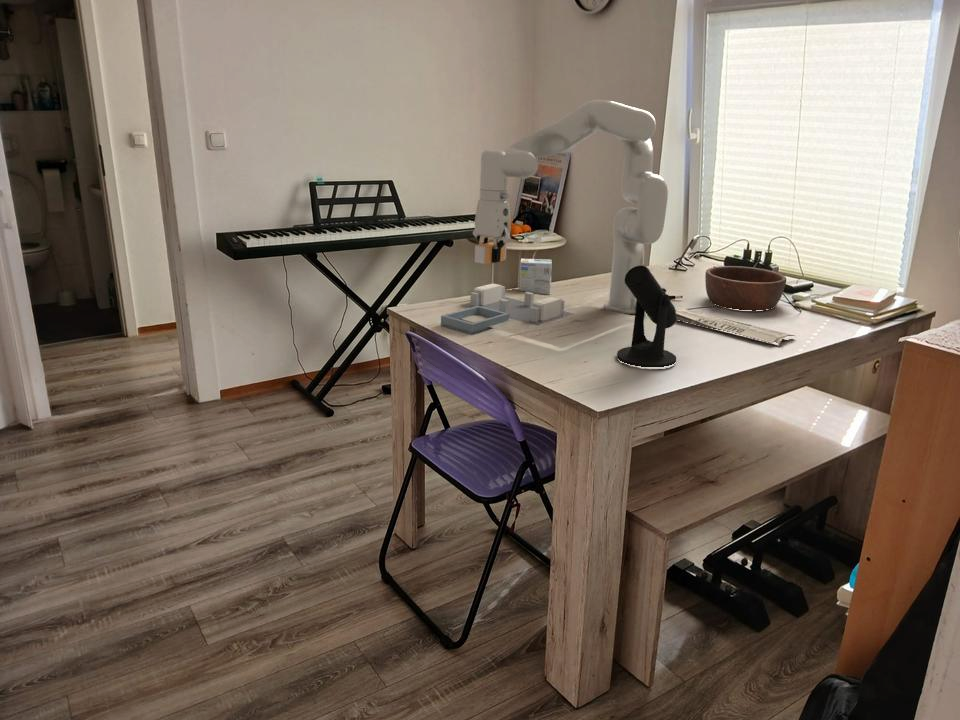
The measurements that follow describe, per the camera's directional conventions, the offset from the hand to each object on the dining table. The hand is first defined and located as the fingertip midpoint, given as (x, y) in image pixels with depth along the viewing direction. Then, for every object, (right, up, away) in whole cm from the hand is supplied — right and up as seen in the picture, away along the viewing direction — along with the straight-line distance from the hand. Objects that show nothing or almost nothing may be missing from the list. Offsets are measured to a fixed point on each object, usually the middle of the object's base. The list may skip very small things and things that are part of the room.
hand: (490, 260), depth 221 cm
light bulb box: (+16, -6, +41) cm, 44 cm away
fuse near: (+17, -16, +8) cm, 24 cm away
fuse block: (+8, -14, +15) cm, 22 cm away
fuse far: (0, -10, +22) cm, 24 cm away
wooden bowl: (+83, -11, +32) cm, 89 cm away
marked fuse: (0, 0, 0) cm, 0 cm away
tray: (-4, -18, +1) cm, 19 cm away
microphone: (+39, -29, -24) cm, 54 cm away
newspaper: (+69, -20, +4) cm, 72 cm away
